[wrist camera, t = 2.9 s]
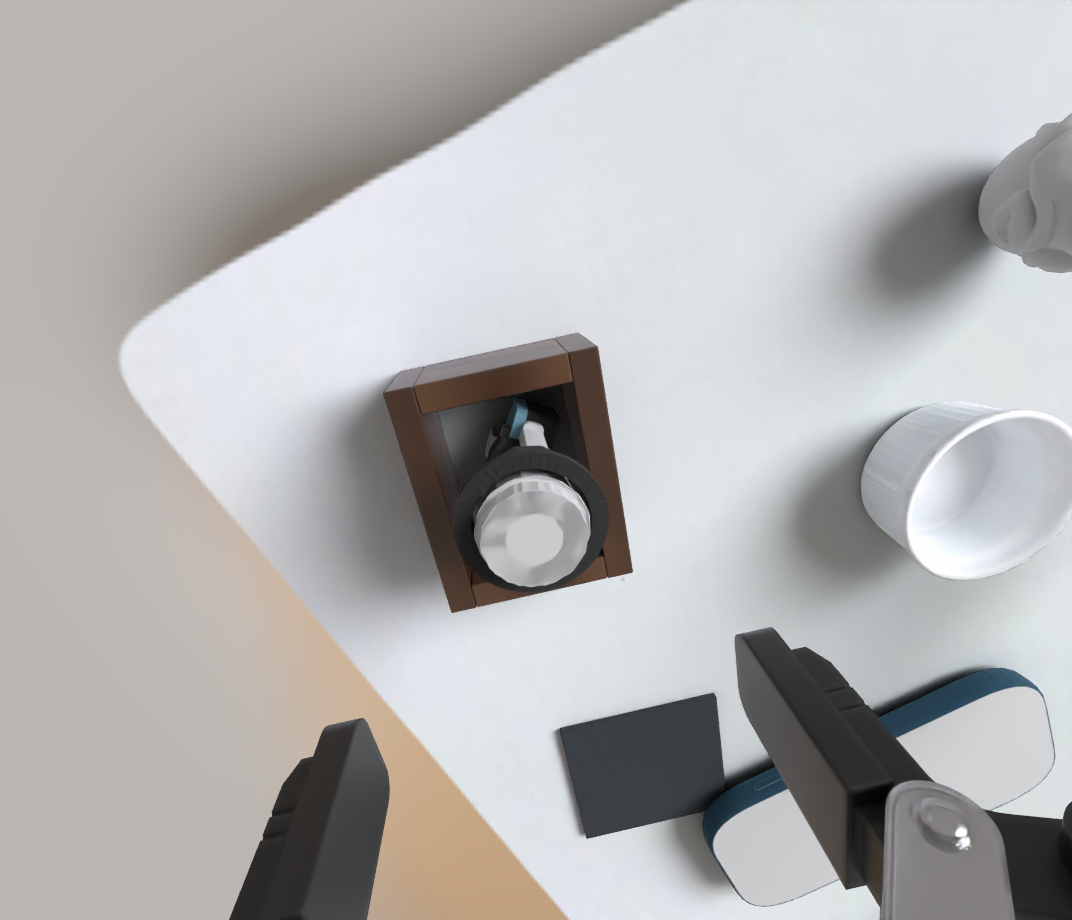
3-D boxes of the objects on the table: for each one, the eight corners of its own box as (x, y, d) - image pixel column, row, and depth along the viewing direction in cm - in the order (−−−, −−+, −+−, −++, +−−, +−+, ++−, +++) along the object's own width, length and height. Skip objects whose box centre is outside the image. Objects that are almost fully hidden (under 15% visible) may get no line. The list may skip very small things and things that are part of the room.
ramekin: (852, 558, 31) (908, 602, 27) (842, 418, 28) (904, 444, 24) (999, 515, 31) (1078, 552, 27) (1006, 369, 28) (1096, 387, 23)
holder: (456, 562, 28) (451, 613, 24) (399, 371, 25) (382, 392, 20) (611, 527, 29) (633, 573, 24) (578, 332, 25) (598, 345, 21)
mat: (585, 833, 37) (586, 839, 36) (559, 728, 33) (560, 733, 33) (724, 800, 37) (727, 806, 37) (713, 692, 33) (716, 697, 33)
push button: (543, 524, 28) (572, 652, 19) (445, 500, 27) (424, 624, 18) (584, 407, 26) (639, 487, 17) (479, 377, 25) (476, 443, 16)
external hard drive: (739, 889, 40) (752, 920, 38) (683, 800, 36) (695, 829, 34) (1034, 754, 38) (1062, 779, 36) (1010, 644, 34) (1041, 666, 32)
